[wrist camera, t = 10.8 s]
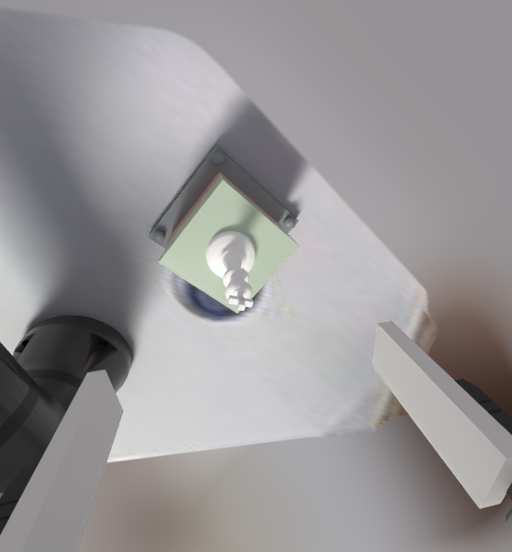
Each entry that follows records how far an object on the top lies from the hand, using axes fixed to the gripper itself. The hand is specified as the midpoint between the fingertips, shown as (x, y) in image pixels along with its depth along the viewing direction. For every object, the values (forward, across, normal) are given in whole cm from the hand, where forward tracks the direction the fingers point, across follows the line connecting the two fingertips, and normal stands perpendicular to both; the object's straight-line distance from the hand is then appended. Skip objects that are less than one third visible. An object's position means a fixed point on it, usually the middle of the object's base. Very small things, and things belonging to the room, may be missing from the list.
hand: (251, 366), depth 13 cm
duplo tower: (+26, 0, 0) cm, 26 cm away
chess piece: (+16, 0, 0) cm, 16 cm away
